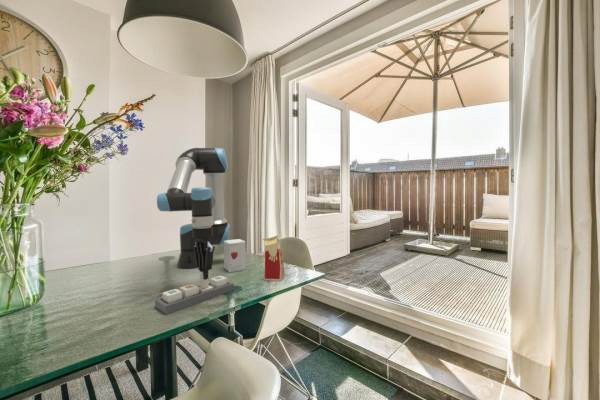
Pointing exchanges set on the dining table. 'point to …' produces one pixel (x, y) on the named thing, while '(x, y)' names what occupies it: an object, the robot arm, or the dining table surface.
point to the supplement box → (234, 255)
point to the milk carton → (273, 260)
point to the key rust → (189, 290)
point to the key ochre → (205, 289)
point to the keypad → (192, 299)
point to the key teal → (172, 295)
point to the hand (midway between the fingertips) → (204, 286)
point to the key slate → (218, 281)
